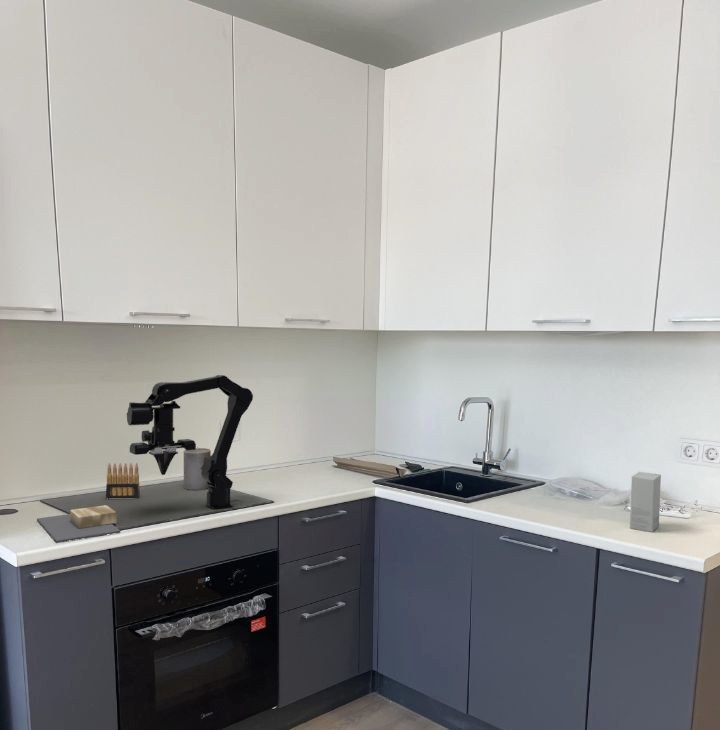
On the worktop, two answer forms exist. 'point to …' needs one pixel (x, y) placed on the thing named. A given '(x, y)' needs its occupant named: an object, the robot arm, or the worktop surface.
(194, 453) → the pillar candle
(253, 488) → the worktop surface
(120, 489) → the ammunition clip
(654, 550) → the worktop surface
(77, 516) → the wooden block
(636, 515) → the skincare box
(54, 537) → the rubber mat
